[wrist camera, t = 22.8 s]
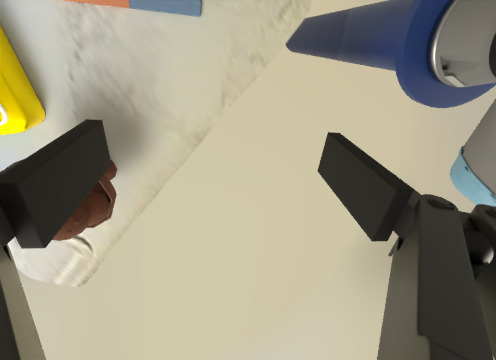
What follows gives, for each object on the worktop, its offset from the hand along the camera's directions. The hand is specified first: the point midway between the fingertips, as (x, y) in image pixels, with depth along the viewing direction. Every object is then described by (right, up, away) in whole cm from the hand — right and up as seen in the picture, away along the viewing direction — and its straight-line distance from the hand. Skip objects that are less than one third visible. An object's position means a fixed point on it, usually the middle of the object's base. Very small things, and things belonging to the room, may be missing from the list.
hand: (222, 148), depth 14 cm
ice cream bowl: (-25, 0, +28) cm, 37 cm away
